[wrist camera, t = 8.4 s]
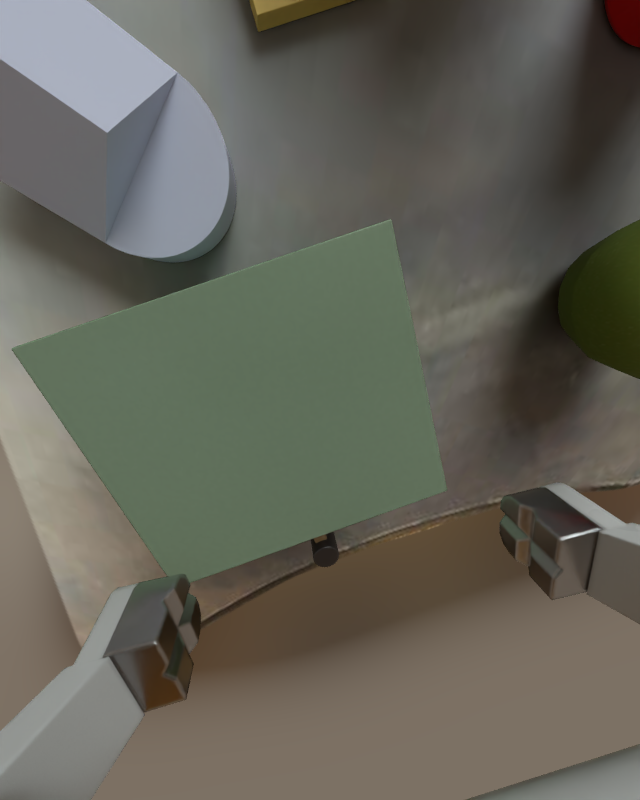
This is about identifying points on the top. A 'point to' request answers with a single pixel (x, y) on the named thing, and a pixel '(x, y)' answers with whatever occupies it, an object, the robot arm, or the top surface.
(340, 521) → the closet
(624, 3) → the soda can
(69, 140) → the wedge on round base
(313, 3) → the button block
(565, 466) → the top surface
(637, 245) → the apple
